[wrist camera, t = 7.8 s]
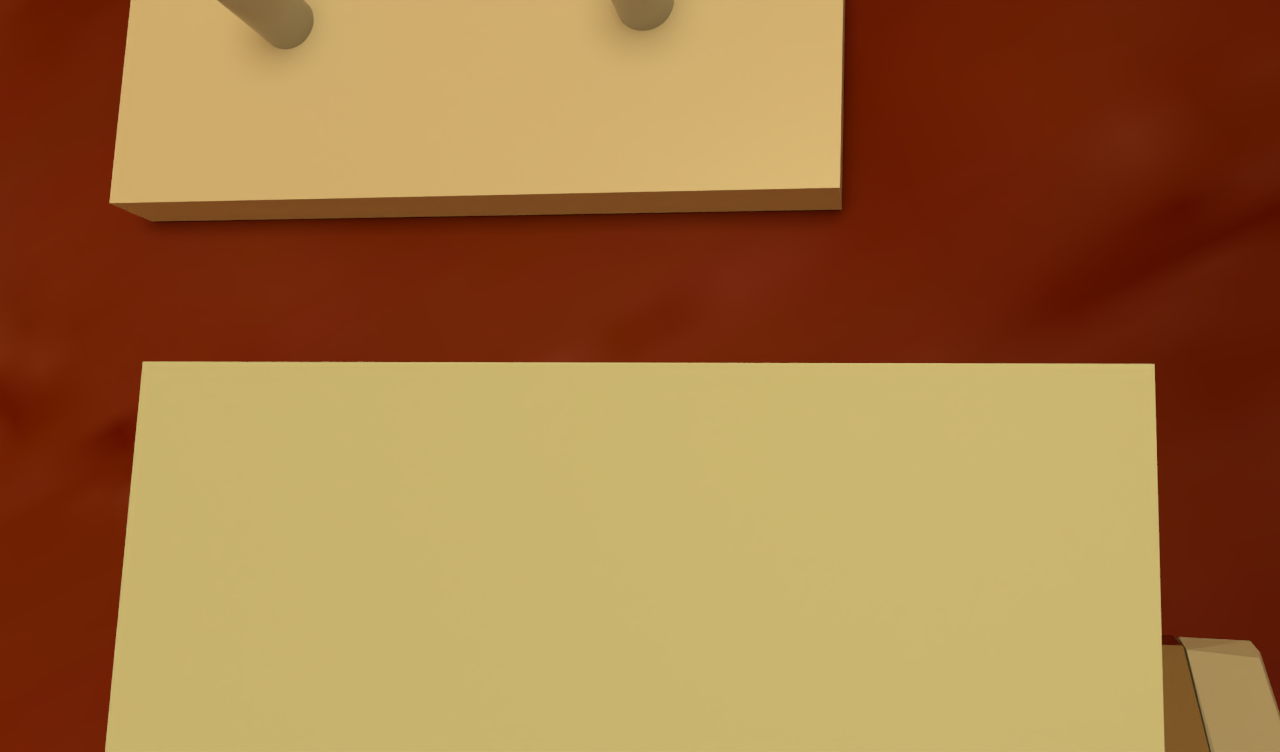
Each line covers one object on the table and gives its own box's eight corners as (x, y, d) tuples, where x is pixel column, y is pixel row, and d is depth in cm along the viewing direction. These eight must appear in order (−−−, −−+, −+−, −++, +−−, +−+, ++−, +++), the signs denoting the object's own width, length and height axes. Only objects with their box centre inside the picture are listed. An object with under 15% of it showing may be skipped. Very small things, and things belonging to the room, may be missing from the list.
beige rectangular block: (980, 477, 14) (1154, 364, 5) (982, 880, 14) (1187, 1698, 4) (610, 468, 16) (143, 361, 6) (596, 840, 15) (41, 1407, 5)
